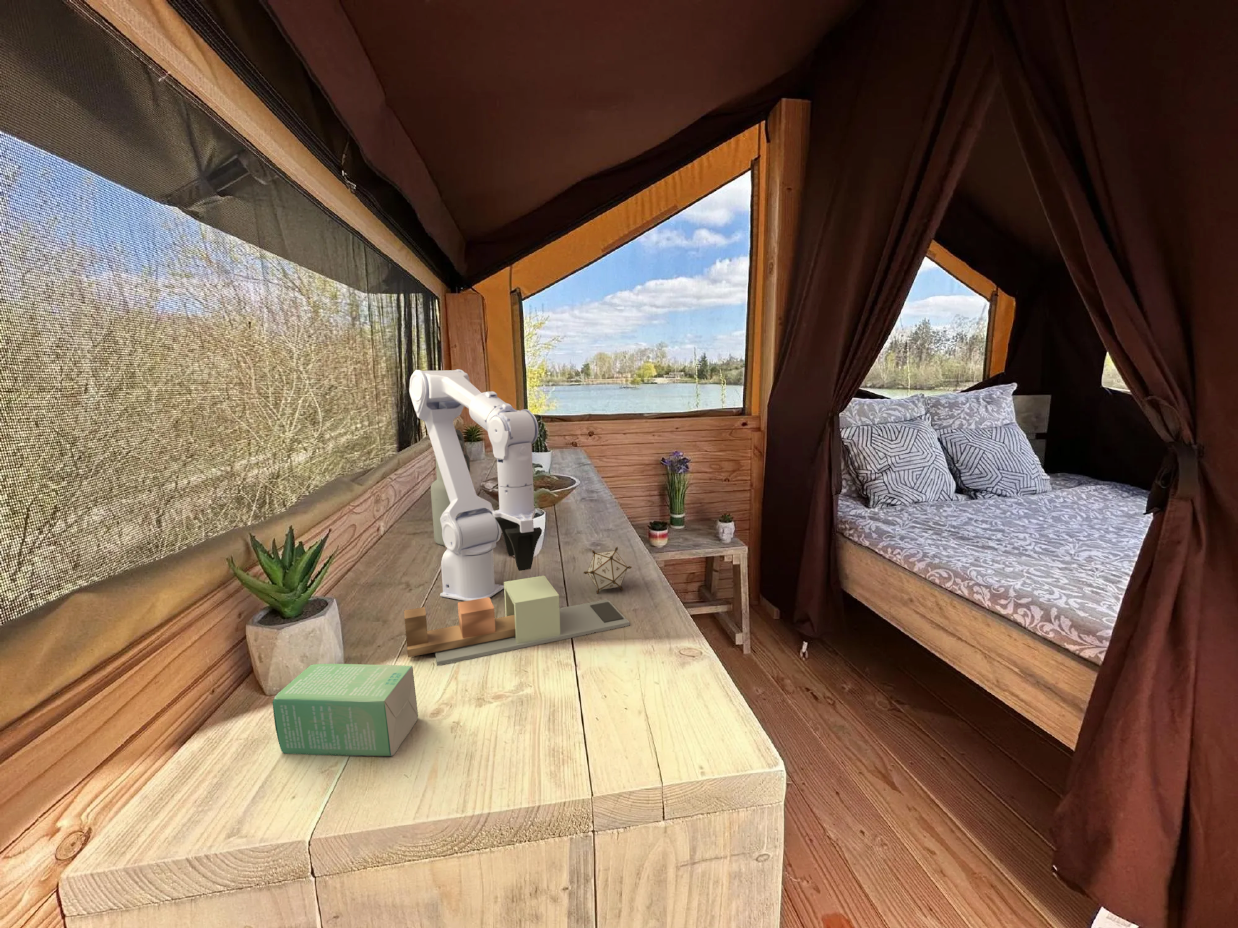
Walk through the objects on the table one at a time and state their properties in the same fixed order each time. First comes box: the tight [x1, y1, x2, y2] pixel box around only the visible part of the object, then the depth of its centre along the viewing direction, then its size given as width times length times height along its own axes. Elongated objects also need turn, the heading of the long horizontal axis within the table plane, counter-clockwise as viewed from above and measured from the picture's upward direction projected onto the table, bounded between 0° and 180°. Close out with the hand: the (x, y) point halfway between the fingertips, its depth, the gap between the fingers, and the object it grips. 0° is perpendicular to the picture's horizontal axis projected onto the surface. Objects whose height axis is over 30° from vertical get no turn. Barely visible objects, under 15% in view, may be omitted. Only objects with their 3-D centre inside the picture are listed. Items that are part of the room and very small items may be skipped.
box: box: [272, 663, 419, 757], centre depth 65 cm, size 7×14×8 cm, turn 86°
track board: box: [434, 599, 631, 666], centre depth 90 cm, size 31×10×1 cm, turn 113°
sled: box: [403, 597, 516, 658], centre depth 86 cm, size 21×5×6 cm, turn 113°
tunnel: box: [503, 575, 561, 644], centre depth 90 cm, size 7×9×7 cm
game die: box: [583, 546, 633, 594], centre depth 106 cm, size 9×8×10 cm
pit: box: [590, 602, 623, 623], centre depth 95 cm, size 4×7×1 cm, turn 23°
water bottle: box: [430, 429, 471, 547], centre depth 135 cm, size 10×10×28 cm
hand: (519, 561), depth 93 cm, fingers open, 7 cm apart
